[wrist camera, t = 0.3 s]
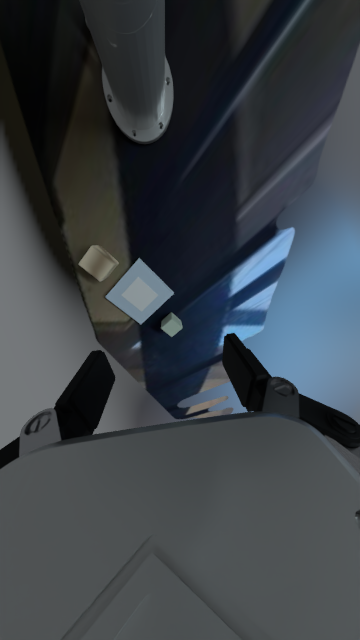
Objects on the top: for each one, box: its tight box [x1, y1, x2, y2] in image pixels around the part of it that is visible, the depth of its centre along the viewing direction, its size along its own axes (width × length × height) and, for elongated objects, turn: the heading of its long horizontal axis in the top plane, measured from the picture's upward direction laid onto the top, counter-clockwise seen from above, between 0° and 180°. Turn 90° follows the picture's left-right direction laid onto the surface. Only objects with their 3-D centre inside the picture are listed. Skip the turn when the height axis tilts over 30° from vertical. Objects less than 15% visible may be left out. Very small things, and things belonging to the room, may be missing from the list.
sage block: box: [161, 312, 182, 337], centre depth 48 cm, size 5×5×5 cm
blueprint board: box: [105, 258, 174, 324], centre depth 44 cm, size 14×16×1 cm
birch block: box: [79, 245, 119, 282], centre depth 37 cm, size 6×6×5 cm
